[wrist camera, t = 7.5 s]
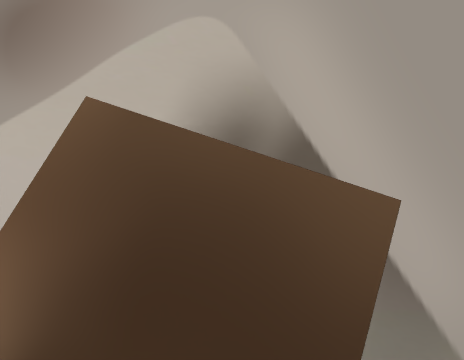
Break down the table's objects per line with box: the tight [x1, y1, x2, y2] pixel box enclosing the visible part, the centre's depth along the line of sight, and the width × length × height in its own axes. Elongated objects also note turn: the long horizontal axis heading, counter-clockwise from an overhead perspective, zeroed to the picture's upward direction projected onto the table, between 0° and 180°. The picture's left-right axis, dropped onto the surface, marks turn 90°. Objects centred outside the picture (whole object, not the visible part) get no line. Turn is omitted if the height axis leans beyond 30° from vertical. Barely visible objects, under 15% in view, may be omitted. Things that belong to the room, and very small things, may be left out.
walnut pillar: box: [0, 96, 401, 360], centre depth 11 cm, size 5×5×13 cm
